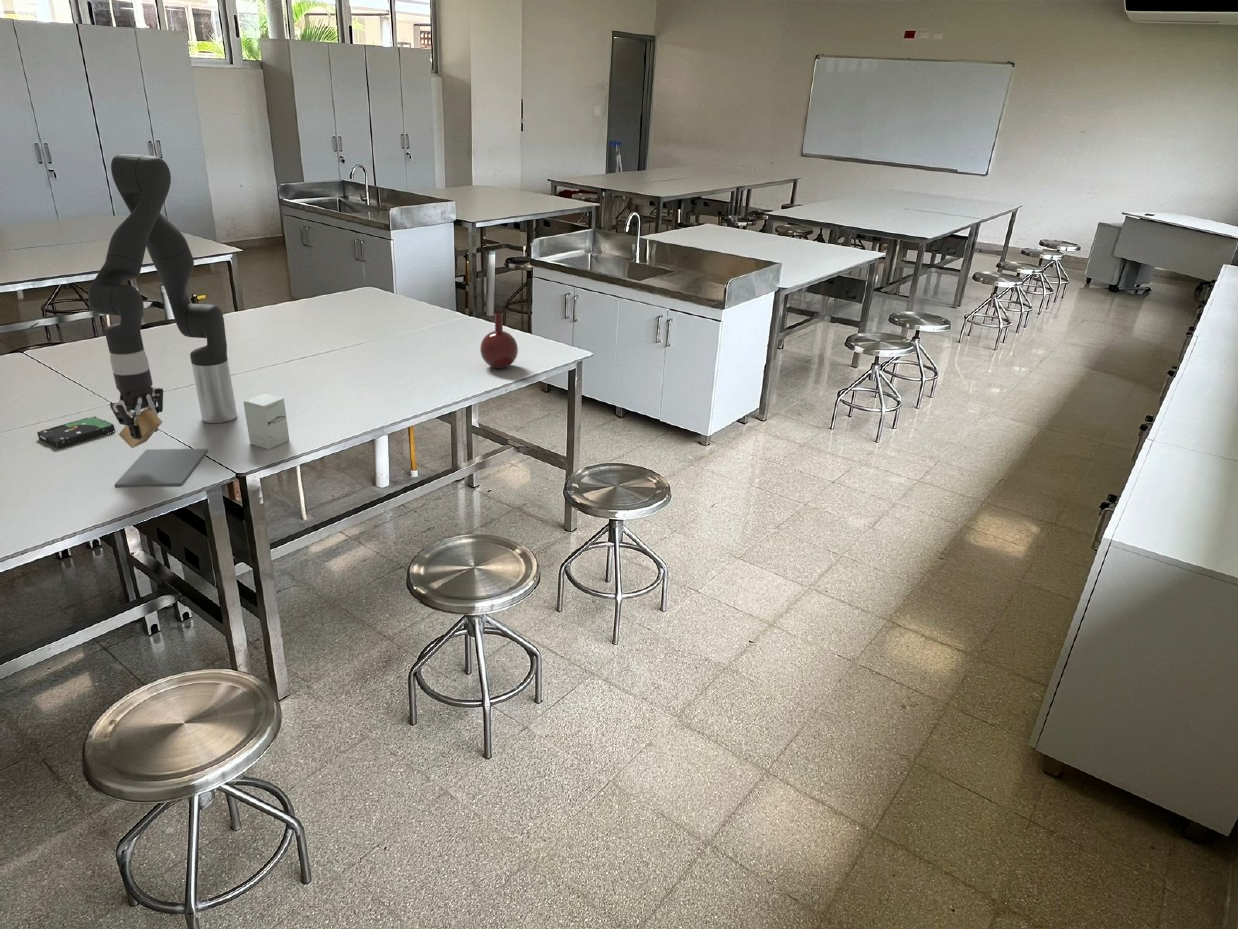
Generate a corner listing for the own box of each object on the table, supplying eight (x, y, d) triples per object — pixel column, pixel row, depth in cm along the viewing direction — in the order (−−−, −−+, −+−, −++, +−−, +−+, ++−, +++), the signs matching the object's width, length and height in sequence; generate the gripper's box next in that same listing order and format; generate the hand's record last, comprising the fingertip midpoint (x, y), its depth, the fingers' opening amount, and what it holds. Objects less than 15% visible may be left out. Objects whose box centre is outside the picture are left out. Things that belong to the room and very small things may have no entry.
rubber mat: (146, 451, 207) (146, 449, 207) (207, 450, 210) (207, 448, 209) (114, 486, 190) (114, 484, 189) (182, 485, 192) (181, 483, 192)
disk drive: (59, 451, 206) (116, 433, 218) (56, 441, 205) (114, 423, 216) (38, 441, 211) (96, 423, 222) (35, 431, 210) (93, 414, 221)
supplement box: (269, 450, 212) (262, 406, 207) (249, 444, 215) (242, 400, 209) (290, 440, 218) (284, 397, 213) (270, 434, 221) (264, 392, 215)
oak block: (133, 427, 197) (149, 407, 193) (146, 441, 198) (162, 421, 194) (118, 434, 194) (134, 414, 189) (132, 448, 194) (148, 428, 190)
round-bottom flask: (486, 375, 274) (485, 318, 266) (476, 363, 285) (475, 308, 276) (522, 371, 279) (522, 316, 271) (511, 360, 290) (511, 306, 281)
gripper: (119, 379, 180) (134, 448, 187) (167, 361, 192) (180, 426, 200) (92, 375, 181) (108, 443, 189) (141, 357, 194) (155, 422, 201)
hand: (145, 434), depth 194 cm, fingers closed on oak block, 4 cm apart
